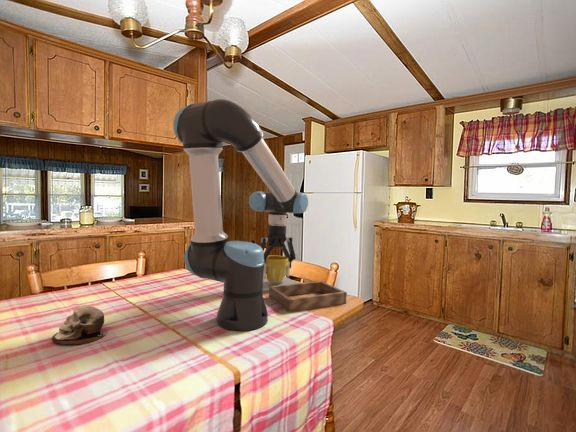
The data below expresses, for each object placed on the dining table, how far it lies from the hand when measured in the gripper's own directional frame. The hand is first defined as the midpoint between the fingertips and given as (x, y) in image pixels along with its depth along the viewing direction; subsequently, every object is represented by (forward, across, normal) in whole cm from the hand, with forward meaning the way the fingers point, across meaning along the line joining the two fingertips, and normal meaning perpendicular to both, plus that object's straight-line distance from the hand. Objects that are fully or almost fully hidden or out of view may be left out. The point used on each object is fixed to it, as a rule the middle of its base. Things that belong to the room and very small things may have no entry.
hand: (275, 277), depth 131 cm
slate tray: (+4, 0, 0) cm, 4 cm away
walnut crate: (+4, +3, -21) cm, 22 cm away
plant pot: (+2, 0, 0) cm, 2 cm away
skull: (+4, -66, -23) cm, 70 cm away
